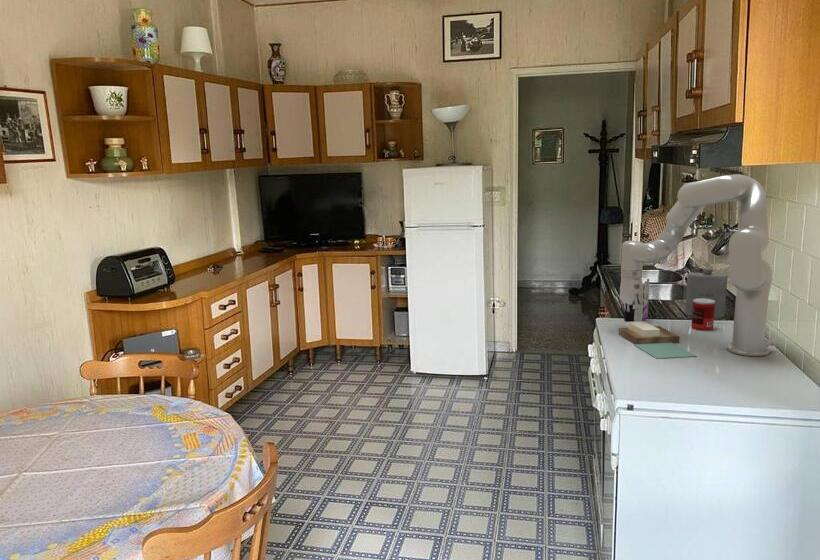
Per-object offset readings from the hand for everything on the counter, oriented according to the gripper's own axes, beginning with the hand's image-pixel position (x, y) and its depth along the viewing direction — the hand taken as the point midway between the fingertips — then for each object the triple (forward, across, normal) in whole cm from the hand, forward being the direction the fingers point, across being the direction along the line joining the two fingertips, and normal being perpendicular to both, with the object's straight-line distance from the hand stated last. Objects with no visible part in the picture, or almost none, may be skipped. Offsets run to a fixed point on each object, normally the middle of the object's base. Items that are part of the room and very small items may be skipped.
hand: (628, 321), depth 241 cm
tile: (+1, -12, 0) cm, 12 cm away
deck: (+4, -12, -2) cm, 12 cm away
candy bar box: (+4, +15, -12) cm, 20 cm away
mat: (+4, -27, 0) cm, 27 cm away
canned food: (+4, -2, -29) cm, 29 cm away
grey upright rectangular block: (+4, +16, -41) cm, 44 cm away
